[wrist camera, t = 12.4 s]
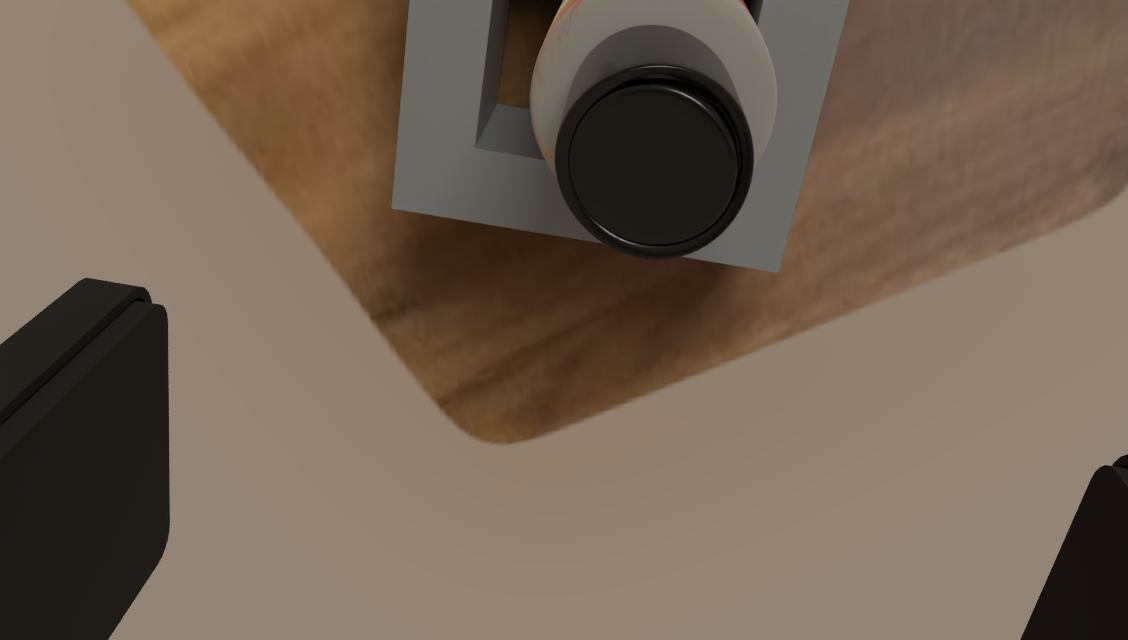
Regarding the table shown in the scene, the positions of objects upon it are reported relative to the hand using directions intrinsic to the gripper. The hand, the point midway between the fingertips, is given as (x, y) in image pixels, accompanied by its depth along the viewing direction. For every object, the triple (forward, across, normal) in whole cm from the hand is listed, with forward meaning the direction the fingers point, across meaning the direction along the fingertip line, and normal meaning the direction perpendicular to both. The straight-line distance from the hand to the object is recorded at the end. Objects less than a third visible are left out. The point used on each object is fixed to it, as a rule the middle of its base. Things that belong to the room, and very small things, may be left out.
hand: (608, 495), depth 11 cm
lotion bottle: (+30, 0, 0) cm, 30 cm away
